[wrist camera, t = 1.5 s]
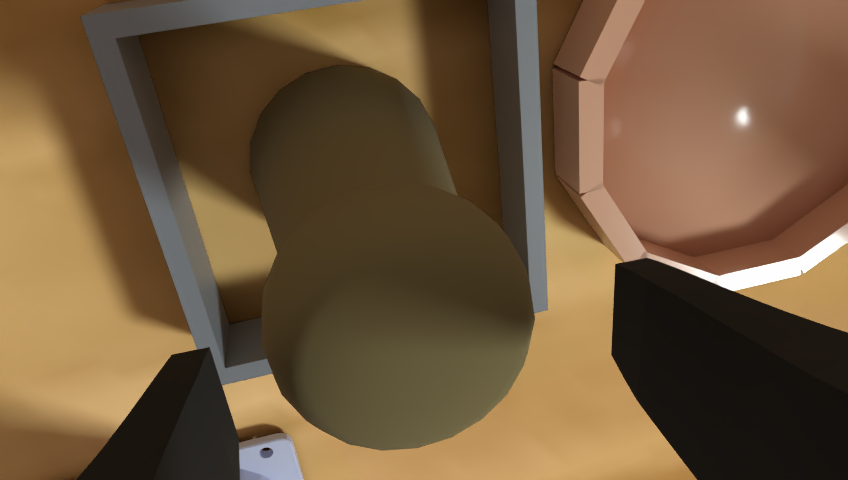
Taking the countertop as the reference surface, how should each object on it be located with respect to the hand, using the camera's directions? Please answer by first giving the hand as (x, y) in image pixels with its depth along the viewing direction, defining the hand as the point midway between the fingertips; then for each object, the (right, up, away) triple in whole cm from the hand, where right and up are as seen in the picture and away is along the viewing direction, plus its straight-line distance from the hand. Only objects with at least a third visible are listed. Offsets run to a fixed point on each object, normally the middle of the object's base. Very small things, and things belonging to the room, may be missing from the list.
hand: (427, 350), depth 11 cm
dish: (+11, +7, +11) cm, 17 cm away
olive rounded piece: (-3, +4, +9) cm, 11 cm away
